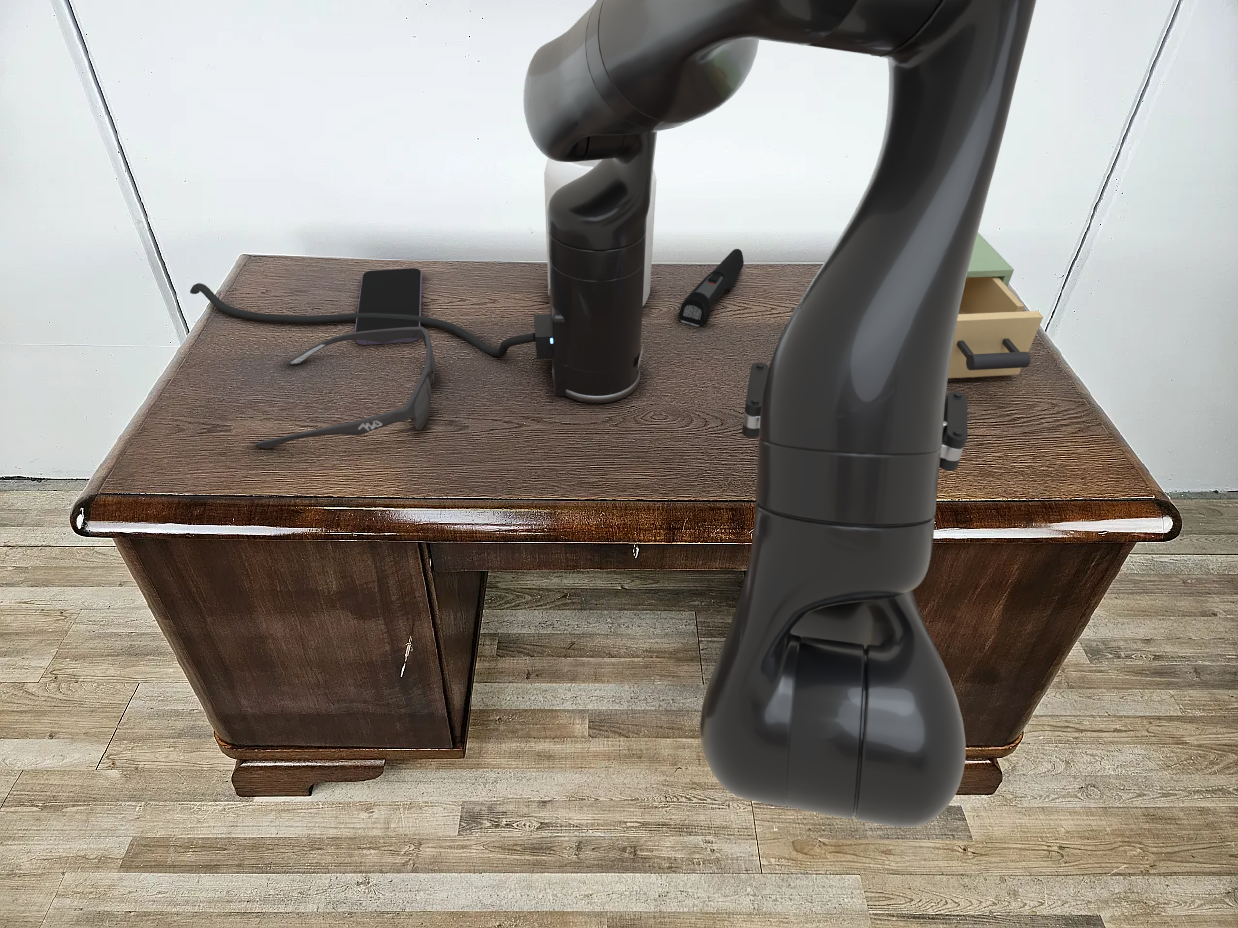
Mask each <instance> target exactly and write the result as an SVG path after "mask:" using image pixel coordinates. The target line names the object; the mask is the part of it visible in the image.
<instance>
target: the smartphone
mask: <svg viewBox="0 0 1238 928" xmlns="http://www.w3.org/2000/svg"><path fill="white" fill-rule="evenodd" d="M422 301H423V272H422V270H421V269H420V268H418V267H417V268H416V267H408V268H407V267H406V268H389V269H372V270H367V271H365V272H363V274H362V276H361V282H360V288H359V297H358V304H357V312H356V313H383V314H403V315H414V316H422ZM402 327H422V324H420V321H416V320H407V319H393V318H370V317H359V318H357V319H356V321H355V327H354V332H360V331H370V330H379V329H390V328H402ZM417 340H419V339H415V338H403V339H396V340H392V341H389V342H385V343H380V342H374V341H367V340H355V343H357V344H358V345H361V346H370V345H386V344H387V345H388V344H399V343H400V344H401V343H412V342H416V341H417Z"/></svg>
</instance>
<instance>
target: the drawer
mask: <svg viewBox="0 0 1238 928" xmlns="http://www.w3.org/2000/svg"><path fill="white" fill-rule="evenodd" d="M1024 309H1025V305H1024V304H1023V303H1022V302H1021V300H1020V299H1019V298H1018V297H1017V296H1016V295H1015V294H1014V293H1013V292H1012V290H1010V288H1009V287H1007V286H1006V285H1005V284H1004V283H1003V282H1002V281H1001V280H1000V279H999V278H998V277H997V276H994V277H969V278H966V281H965V286H964V290H963V295H962V300H961V304H960V309H959V314H958V318H957V324H956V330H955V335H954V341H953V346H952V352H951V358H950V365H949V373H948V379H963V378H978V377H979V378H980V377H996V376H1000V377H1001V376H1015V375H1017V376H1018V375H1020V372H1021V370H1022V369H1024V368H1028V367H1029V366H1030V364H1031V360H1032V359H1031V355H1030V353H1029V351H1030V349H1031V347H1032V344H1033V342H1034V340H1035V337H1036V335H1037V333H1038V330H1039V328H1040V325H1041V324H1042V322H1043V319H1044V315H1042V313H1041V312H1039V310H1028V311H1025V310H1024Z"/></svg>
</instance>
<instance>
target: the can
mask: <svg viewBox="0 0 1238 928" xmlns="http://www.w3.org/2000/svg"><path fill="white" fill-rule="evenodd" d="M600 161H601V160H591V161H580V162H558V161H555V160H552V159H549V158H548V159H547V160H546V164H545V168H544V173H543V179H544V180H543V182H544V183H543V184H544V185H543V186H544V208H545V209H544V211H545V213H544V214H545V238H546V239H545V240H546V261H547V262H546V263H547V267H546V268H547V293H548V296H549V289H550V265H549V237H548V215H547V213H548V204H549V200H550V198H551V197H552V195H553V194H554V193H555V192H556V191H557V190H558V189H559V188H561V187H562V186H564V185H566V184H568V183H570V182H572V181H574V180H576V179H577V178H579V177H581V176H583V175H585V174H586V173H587V172H589V171H590V170H591V169H593V168H594V167H595V166H596V165H597V164H598V163H599V162H600ZM656 195H657V175H656V171H655V166H653V176H652V190H651V201H650V207H649V211H648V215H647V229H646V248H645V268H644V288H643V307H644V306H645V305H646V303H647V301H648V300H649V296H650V294H651V284H652V283H651V282H652V280H651V279H652V266H653V265H652V264H653V263H652V262H653V246H654V231H655V230H654V229H655V211H656V197H657V196H656Z"/></svg>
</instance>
